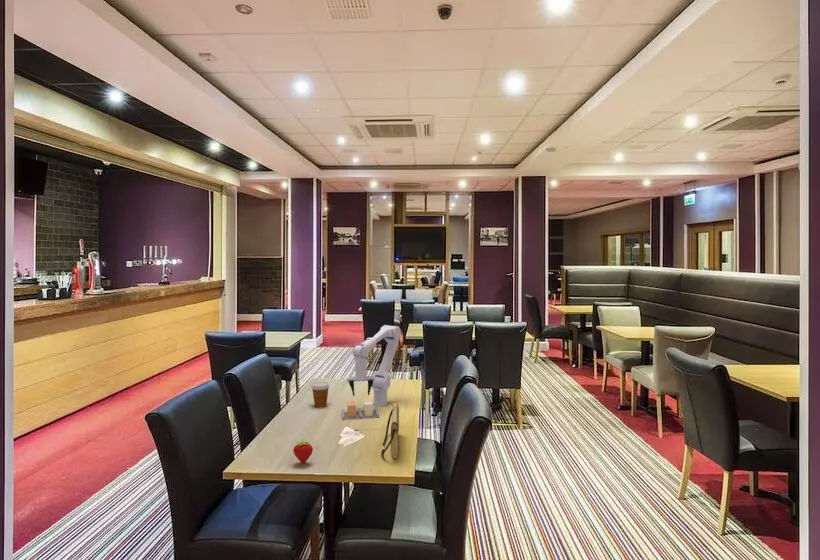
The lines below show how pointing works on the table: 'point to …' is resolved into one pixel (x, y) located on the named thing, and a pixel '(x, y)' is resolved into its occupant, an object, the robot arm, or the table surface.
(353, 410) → the terracotta plug
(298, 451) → the strawberry
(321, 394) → the disposable coffee cup
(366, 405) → the white plug
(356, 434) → the cloth
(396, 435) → the clutch purse
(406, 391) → the table surface
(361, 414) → the slot rack
